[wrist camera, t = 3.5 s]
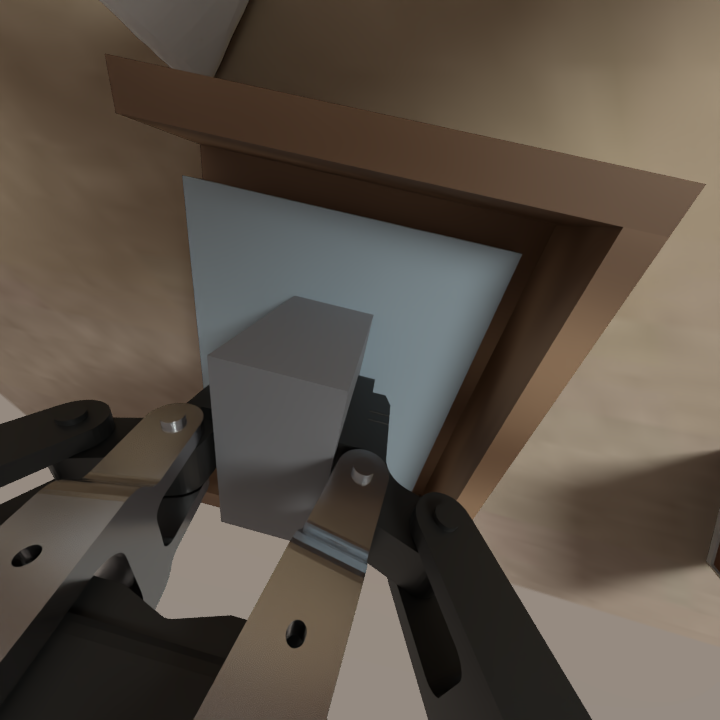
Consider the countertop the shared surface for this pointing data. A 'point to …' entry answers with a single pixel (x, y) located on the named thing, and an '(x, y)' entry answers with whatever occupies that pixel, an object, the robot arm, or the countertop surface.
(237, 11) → the spoon rest
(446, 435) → the open-fronted box
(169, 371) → the countertop surface
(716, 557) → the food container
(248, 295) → the cover plate
